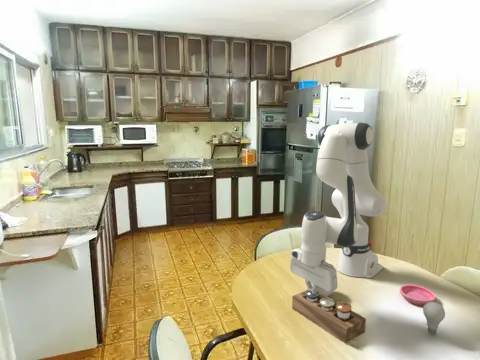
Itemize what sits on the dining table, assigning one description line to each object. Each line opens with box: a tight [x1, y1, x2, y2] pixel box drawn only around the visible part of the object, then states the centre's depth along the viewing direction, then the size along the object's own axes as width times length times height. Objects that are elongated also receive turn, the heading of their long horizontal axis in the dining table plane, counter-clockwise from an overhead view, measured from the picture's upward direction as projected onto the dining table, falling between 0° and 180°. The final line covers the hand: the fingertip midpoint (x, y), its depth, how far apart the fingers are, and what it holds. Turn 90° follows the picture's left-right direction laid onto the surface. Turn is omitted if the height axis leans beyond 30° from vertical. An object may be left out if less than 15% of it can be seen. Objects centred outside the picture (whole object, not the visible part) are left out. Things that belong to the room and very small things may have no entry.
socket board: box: [291, 290, 367, 345], centre depth 112 cm, size 10×24×5 cm, turn 34°
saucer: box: [399, 284, 437, 307], centre depth 125 cm, size 12×12×3 cm
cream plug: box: [320, 297, 335, 312], centre depth 112 cm, size 5×5×6 cm
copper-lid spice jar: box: [336, 301, 352, 322], centre depth 106 cm, size 5×5×6 cm
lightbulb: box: [422, 301, 446, 336], centre depth 103 cm, size 6×6×11 cm
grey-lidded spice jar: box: [304, 289, 319, 303], centre depth 118 cm, size 5×5×6 cm
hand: (311, 292), depth 117 cm, fingers closed
